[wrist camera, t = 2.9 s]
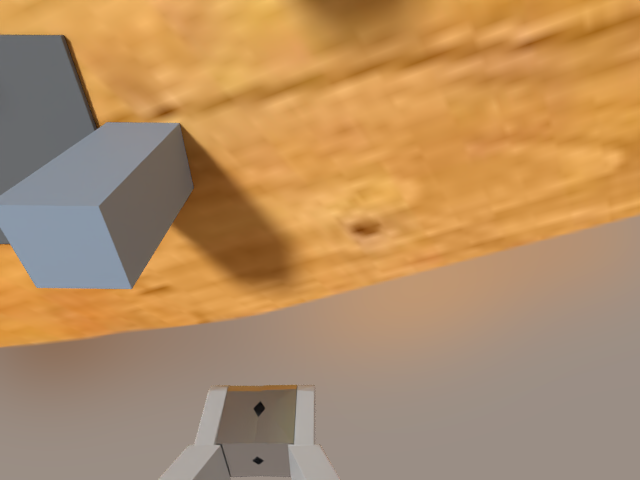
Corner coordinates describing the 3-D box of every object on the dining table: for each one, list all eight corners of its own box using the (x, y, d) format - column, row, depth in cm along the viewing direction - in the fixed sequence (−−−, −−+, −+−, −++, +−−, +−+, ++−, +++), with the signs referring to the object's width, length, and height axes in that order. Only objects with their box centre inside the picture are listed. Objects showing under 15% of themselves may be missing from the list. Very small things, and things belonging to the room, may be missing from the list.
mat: (63, 35, 20) (60, 35, 20) (137, 243, 28) (135, 245, 28) (-155, 33, 20) (-161, 34, 20) (-19, 241, 28) (-22, 243, 28)
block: (179, 123, 23) (98, 206, 15) (193, 188, 25) (131, 288, 17) (107, 122, 23) (-14, 204, 15) (128, 187, 26) (36, 287, 17)
